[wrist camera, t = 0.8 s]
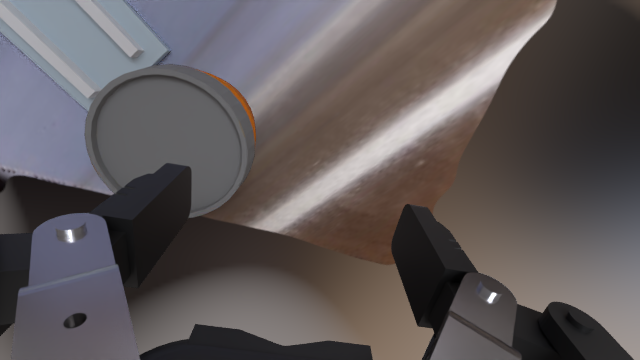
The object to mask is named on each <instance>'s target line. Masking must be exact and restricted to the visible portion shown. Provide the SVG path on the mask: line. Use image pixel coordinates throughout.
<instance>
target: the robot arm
mask: <svg viewBox="0 0 640 360" xmlns="http://www.w3.org/2000/svg"><path fill="white" fill-rule="evenodd" d="M191 190H192V171H191V168H190V167H189V166H184V165H178V164H172V163H166V164H164V165H163V166H162V167H161V168H160V169H158V170H157V171H156V172H155V173H153V174H150V173H148V174H145V175H143V176H140V177H137V178H134V179H133V180H132V181H130V182H129V183H128V184H126V185H125V186H124V188H121V189H120V190H118V191H117V192H116V194H113V195H112V196H111V197H109V198H108V199H107V200H105V201H104V202H103V203H101V204H100V205H99V206H97V207H96V208H95V209H93V210H92V211H91V212H90V213H76V214H69V215H63V216H60V217H56V218H54V219H51V220H49V221H46V222H44V223H43V224H41V225H40V226H38V227H37V228H36V229H35V231H34V232H33V233H21V234H0V336H1V335H2V334H3V333H4V332H5V331H6V330H7V329H8V328H9V327H10V326H11V325H12V324H13V323H15V328H14V337H13V346H12V355H11V360H373V359H372V354H371V348H370V346H368V345H359V344H351V343H343V342H335V341H323V342H315V343H307V344H300V345H291V346H282V345H279V344H276V343H273V342H271V341H268V340H266V339H263V338H260V337H257V336H255V335H253V334H250V333H247V332H244V331H242V330H239V329H230V328H222V327H214V326H206V325H198V324H195V326H194V329H193V331H192V333H191V336H190V338H189V339H186V340H180V341H176V342H171V343H168V344H165V345H162V346H159V347H156V348H154V349H152V350H149V351H147V352H145V353H143V354H141V355H139V352H138V348H137V343H136V340H135V335H134V331H133V326H132V322H131V318H130V314H129V309H128V305H127V301H126V297H125V292H124V289H123V286H124V287H132V288H139V287H140V285H141V283H142V282H143V281H144V280H145V278H146V277H147V275H148V274H149V273H150V271H151V270H152V268H153V267H154V266H155V264H156V263H157V261H158V260H159V259H160V257H161V256H162V255H163V253H164V252H165V250H166V249H167V248H168V246H169V245H170V243H171V242H172V241H173V239H174V238H175V236H176V235H177V234H178V232H179V231H180V230H181V228H182V227H183V225H184V224H185V223H186V221H187V219H188V217H189V214H190V210H191ZM391 249H392V254H393V257H394V260H395V263H396V266H397V269H398V272H399V274H400V277H401V280H402V283H403V286H404V289H405V291H406V294H407V297H408V300H409V302H410V306H411V309H412V311H413V314H414V317H415V320H416V323H417V325H418V326H419V327H427V328H433V330H434V335H433V337H432V339H431V341H430V343H429V345H428V347H427V349H426V351H425V354H424V356H423V358H422V360H634V359H633V358H632V357H631V356H630V355H629V354H628V353H627V352H626V351H625V350H624V349H623V348H622V347H621V346H620V345H619V344H618V343H617V341H616V340H615V339H614V338H613V337H612V336H611V335H610V334H609V333H608V332H607V331H606V330H605V329H604V328H603V327H602V326H601V325H600V324H599V323H598V322H597V321H596V320H595V319H593V318H592V317H590V316H589V315H588V314H586V313H584V312H583V311H581V310H579V309H577V308H575V307H573V306H571V305H568V304H565V303H561V302H551V303H550V304H549V305H548V306H547V308H546V309H545V311H544V312H543V313H541V312H537V311H535V310H532V309H530V308H527V307H524V306H521V305H519V304H517V301H516V298H515V297H514V295H513V294H512V292H511V291H510V290H509V289H508V288H507V287H506V286H504V285H503V284H502V283H500V282H499V281H497V280H496V279H493V278H492V277H490V276H487V275H484V274H481V273H478V271H477V270H476V268H475V267H474V265H473V264H472V263H471V261H470V260H469V258H468V257H467V255H466V254H465V253H464V251H463V250H461V247H460V245H459V244H458V242H456V240H455V238H454V237H453V235H452V234H451V233H450V231H449V230H448V229H446V228H445V227H444V226H443V225H442V224H440V223H439V222H437V221H436V219H435V218H434V216H433V215H432V213H431V212H430V210H429V209H428V208H427V207H422V206H416V205H410V204H407V205H405V207H404V209H403V211H402V214H401V216H400V219H399V222H398V225H397V227H396V230H395V233H394V236H393V239H392V246H391Z"/></svg>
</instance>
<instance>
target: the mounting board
mask: <svg viewBox="0 0 640 360" xmlns="http://www.w3.org/2000/svg"><path fill="white" fill-rule="evenodd" d="M0 32H1V33H2V34H3V35H4V36H5V37H7V38H8V39H9V40H10V41H11V42H12V43H13V44H14V45H15V46H16V47H18V48H19V49H20V50H21V51H22V52H23V53H24V54H25V55H26V56H27V57H29V58H30V59H31V60H32V61H33V62H34V63H35V64H36V65H37V66H38V67H40V68H41V69H42V70H43V71H44V72H45V73H46V74H47V75H48V76H49V77H51V78H52V79H53V80H54V81H55V82H56V83H57V84H58V85H59V86H60V87H62V88H63V89H64V90H65V91H66V92H67V93H68V94H69V95H70V96H71V97H73V98H74V99H75V100H76V101H77V102H78V103H79V104H80V105H81V106H82V107H84V108H85V109H86V110H87V111H89V108H90V105H91V104H92V102H93V100H94V99H95V97H96V96H97V94H98V93H99V92H100V91H101V90H102V89H103V88H104V87H105V86H106V85H107V84H108V83H109V82H110V81H112V80H114V79H116V78H117V77H119V76H121V75H123V74H125V73H129V72H132V71H135V70H139V69H143V68H146V67H150V66H154V65H157V64H158V63H159V62H160V61H161V60H162V59H163V58H164V57H165V56H166V55H167V54H168V53H169V52H170V51H171V50H170V49H169V48H168V47H167V45H166V44H165V43H164V42H163V41H162V40H161V39H160V38H159V37H158V36H157V34H156V33H155V32H154V31H153V30H152V29H151V28H150V27H149V26H148V25H147V23H146V22H145V21H144V20H143V19H142V18H141V17H140V16H139V15H138V13H137V12H136V11H135V10H134V9H133V8H132V7H131V6H130V5H129V4H128V2H127V1H126V0H0Z"/></svg>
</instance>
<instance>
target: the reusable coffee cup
mask: <svg viewBox="0 0 640 360" xmlns="http://www.w3.org/2000/svg"><path fill="white" fill-rule="evenodd" d="M85 140H86V147H87V152H88V154H89V157H90V160H91V163H92V165H93V167H94V168H95V170H96V172H97V174H98V175H99V177H100V178H101V180H102V181H103V182H104V183H105V184H106V186H107V187H108V188H109V189H110V190H111V191H112V192H113V193H114V194H116V192H117V191H118V190H120V189H121V188H124V186H125V185H126V184H128V183H129V182H130V181H132V180H133V179H134V178H137V177H140V176H143V175H145V174H148V173H150V174H153V173H155V172H156V171H157V170H158V169H160V168H161V167H162V166H163V165H164V164H166V163H172V164H178V165H184V166H189V167H190V168H191V171H192V190H191V210H190V214H189V217H188V218H192V217H196V216H200V215H203V214H207V213H209V212H211V211H213V210H215V209H217V208H219V207H220V206H221V205H223V204H224V203H225V202H226V201H228V200H229V199H230V198H231V196H232V195H233V194H234V193H235V192H236V190H237V189H238V188H239V187H240V185H241V184H242V183H243V182H244V180H245V179H246V177H247V175H248V173H249V171H250V169H251V166H252V163H253V159H254V152H255V141H256V130H255V122H254V117H253V114H252V111H251V108H250V106H249V105H248V103H247V101H246V99H245V98H244V97H243V96H242V94H241V93H240V92H239V91H238V90H237V89H236V88H234V87H233V86H232V85H231V84H229V83H228V82H226V81H224V80H222V79H220V78H218V77H216V76H214V75H212V74H209V73H206V72H203V71H200V70H197V69H193V68H190V67H187V66H181V65H173V64H166V65H154V66H150V67H146V68H143V69H139V70H135V71H132V72H129V73H125V74H123V75H121V76H119V77H117V78H116V79H114V80H112V81H110V82H109V83H108V84H107V85H106V86H105V87H104V88H103V89H102V90H101V91H100V92H99V93H98V94H97V96H96V97H95V99H94V100H93V102H92V104H91V105H90V108H89V111H88V114H87V117H86V124H85Z"/></svg>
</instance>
